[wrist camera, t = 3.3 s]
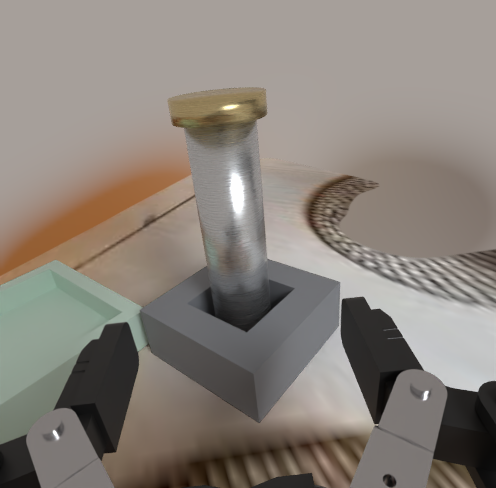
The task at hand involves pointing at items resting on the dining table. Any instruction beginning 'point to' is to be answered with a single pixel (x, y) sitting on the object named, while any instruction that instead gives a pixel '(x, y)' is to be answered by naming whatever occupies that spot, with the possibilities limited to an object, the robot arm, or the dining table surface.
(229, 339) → the socket block
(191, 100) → the steel pin
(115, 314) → the tray
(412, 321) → the dining table surface
